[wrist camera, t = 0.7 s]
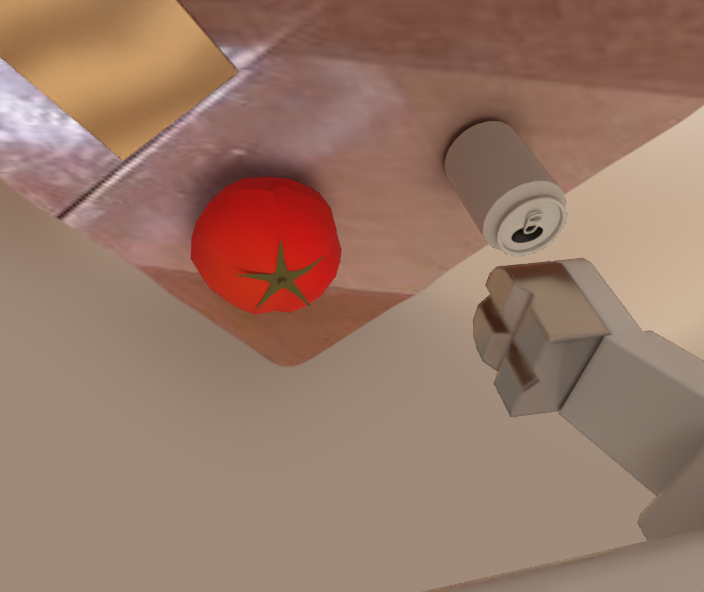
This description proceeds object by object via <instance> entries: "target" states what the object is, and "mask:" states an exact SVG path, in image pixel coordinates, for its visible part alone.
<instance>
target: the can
mask: <svg viewBox="0 0 704 592" xmlns="http://www.w3.org/2000/svg"><path fill="white" fill-rule="evenodd" d="M445 172H446V175H447V177H448V179H449V181H450V183H451V184H452V186H453V188H454V189H455V191H456V192H457V194H458V196H459V197H460V199H461V201H462V202H463V204H464V206H465V207H466V209H467V211H468V212H469V214H470V215H471V217H472V219H473V220H474V222H475V224H476V225H477V227H478V229H479V230H480V232H481V234H482V235H483V237H484V239H485V240H486V242H487V243H488V244H489V245H491V246H492V247H493V248H496V249H499V250H501V251H503V252H504V253H505V254H508V255H511V256H525V255H529V254H533V253H535V252H537V251H539V250H541V249H543V248H545V247H546V246H548V245H549V244H550V243H551V242H553V241H554V240H555V239H556V238H557V236H558V235H559V234H560V233H561V231H562V229H563V227H564V225H565V223H566V219H567V212H566V208H565V205H566V199H565V195H564V192H563V190H562V189H561V188H560V187H559V185H558V184H557V183H556V182H555V180H554V179H553V178H552V177H551V175H550V174H549V173H548V172H547V170H546V169H545V168H544V166H543V165H542V164H541V163H540V161H539V160H538V159H537V158H536V156H535V155H534V154H533V153H532V151H531V150H530V149H529V148H528V146H527V145H526V144H525V143H524V141H523V140H522V139H521V138H520V136H519V135H518V134H517V133H516V132H515V130H514V129H513V128H512V127H511V126H510V125H508V124H505V123H503V122H501V121H487V122H483V123H480V124H476V125H474V126H473V127H471V128H469V129H467V130H465V131H464V132H463V133H462V134H461V135H460V136H459V137H458V138H457V139H455V141H454V142H453V144H452V145H451V147H450V148H449V150H448V152H447V156H446V159H445Z"/></svg>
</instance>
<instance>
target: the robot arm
mask: <svg viewBox="0 0 704 592" xmlns="http://www.w3.org/2000/svg"><path fill="white" fill-rule="evenodd" d="M486 287H487V289H488V291H489V293H490V295H489V296H488V297H486V298H485V300H483V301H482V302H481V303H480V304H479V305H478V306H477V310H476V313H475V316H474V319H473V336H474V340H475V344H476V348H477V350H478V352H479V354H480V356H481V358H482V361H483V362H485V363H486V364H487V365H489V366H491V367H492V368H493V369H495V370H496V371H497V373H496V377H495V381H494V385H495V387H496V389H497V391H498V393H499V395H500V397H501V399H502V401H503V403H504V405H505V407H506V408H507V410H508V413H509V415H510V417H517V416H525V415H532V414H540V413H548V412H555V411H560V412H559V415H561V416H562V417H563V418H564V419H566V420H567V421H568V422H569V423H570V424H571V425H573V426H574V427H575V428H576V429H577V430H579V431H580V432H581V433H582V434H583V435H585V436H586V437H587V438H588V439H589V440H590V441H592V442H593V443H594V444H595V445H596V446H597V447H599V448H600V449H601V450H602V451H603V452H605V453H606V454H607V455H608V456H609V457H611V458H612V459H613V460H614V461H615V462H617V463H618V464H619V465H620V466H621V467H622V468H624V469H625V470H626V471H627V472H628V473H630V474H631V475H632V476H633V477H634V478H636V479H637V480H638V481H639V482H640V483H641V484H643V485H644V486H645V487H646V488H647V489H649V490H650V491H651V492H652V493H653V494H655V495H656V497H655V498H654V499H653V501H652V502H651V503H650V504H649V505H648V506H647V507H646V508H645V509H644V511H643V512H642V513H641V514H640V516H639V519H638V522H637V523H638V525H639V527H640V528H641V530H642V532H643V534H644V536H645V537H646V539H647V541H645V542H640V543H636V544H632V545H627V546H623V547H618V548H614V549H610V550H605V551H601V552H596V553H592V554H587V555H583V556H578V557H574V558H570V559H565V560H561V561H556V562H552V563H547V564H543V565H539V566H535V567H530V568H525V569H521V570H517V571H512V572H508V573H503V574H499V575H494V576H490V577H486V578H482V579H477V580H472V581H468V582H464V583H459V584H455V585H450V586H446V587H441V588H437V589H433V590H428V591H424V592H704V360H702V359H700V358H698V357H697V356H695V355H693V354H691V353H689V352H688V351H686V350H684V349H683V348H681V347H679V346H677V345H676V344H674V343H672V342H671V341H669V340H667V339H665V338H664V337H662V336H660V335H658V334H657V333H655V332H653V331H651V330H650V331H642V330H641V328H640V327H639V326H638V324H637V323H636V322H635V320H634V319H633V318H632V316H631V315H630V314H629V312H628V311H627V310H626V308H625V307H624V306H623V304H622V303H621V302H620V300H619V299H618V298H617V296H616V295H615V294H614V292H613V291H612V290H611V288H610V287H609V286H608V284H607V283H606V282H605V280H604V279H603V277H602V276H601V275H600V273H599V272H598V271H597V269H596V268H595V267H594V265H593V264H592V263H591V262H589V261H587V260H586V259H584V258H577V259H568V260H558V261H553V262H551V261H548V262H538V263H528V264H518V265H508V266H498V267H496V268H495V269H494V270H493V271H492V272H491V273H490V274H489V277H488V279H487V282H486Z"/></svg>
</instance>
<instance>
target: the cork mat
mask: <svg viewBox="0 0 704 592" xmlns="http://www.w3.org/2000/svg"><path fill="white" fill-rule="evenodd" d="M0 57H1V58H2V59H3V60H4V61H6V62H7V63H8V64H9V65H10V66H12V67H13V68H14V69H15V70H16V71H18V72H19V73H20V74H21V75H22V76H23V77H25V78H26V79H27V80H28V81H29V82H31V83H32V84H33V85H34V86H35V87H36V88H38V89H39V90H40V91H41V92H42V93H44V94H45V95H46V96H47V97H48V98H50V99H51V100H52V101H53V102H54V103H55V104H57V105H58V106H59V107H60V108H61V109H63V110H64V111H65V112H66V113H67V114H68V115H70V116H71V117H72V118H73V119H74V120H76V121H77V122H78V123H79V124H80V125H81V126H83V127H84V128H85V129H86V130H87V131H89V132H90V133H91V134H92V135H93V136H95V137H96V138H97V139H98V140H99V141H100V142H102V143H103V144H104V145H105V146H106V147H108V148H109V149H110V150H111V151H112V152H113V153H115V154H116V155H117V156H118V157H119V158H121V159H122V160H125V159H126V158H127V157H129V156H130V155H131V154H133V153H134V152H135V151H137V150H138V149H139V148H140V147H142V146H143V145H144V144H146V143H147V142H148V141H150V140H151V139H152V138H153V137H155V136H156V135H157V134H159V133H160V132H161V131H163V130H164V129H165V128H167V127H168V126H169V125H170V124H172V123H173V122H174V121H176V120H177V119H178V118H180V117H181V116H182V115H183V114H185V113H186V112H187V111H189V110H190V109H191V108H193V107H194V106H195V105H196V104H198V103H199V102H200V101H202V100H203V99H204V98H206V97H207V96H208V95H209V94H211V93H212V92H213V91H215V90H216V89H217V88H219V87H220V86H221V85H223V84H224V83H225V82H226V81H228V80H229V79H230V78H232V77H233V76H234V75H236V74H237V73H238V70H237V69H236V67H235V66H234V65H233V64H232V63H231V62H230V60H229V59H228V58H227V57H226V56H225V55H224V53H223V52H222V51H221V50H220V49H219V48H218V46H217V45H216V44H215V43H214V42H213V41H212V40H211V38H210V37H209V36H208V35H207V34H206V33H205V31H204V30H203V29H202V28H201V27H200V26H199V24H198V23H197V22H196V21H195V20H194V19H193V17H192V16H191V15H190V14H189V13H188V12H187V10H186V9H185V8H184V7H183V6H182V5H181V3H180V2H179V1H178V0H0Z"/></svg>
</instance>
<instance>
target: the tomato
mask: <svg viewBox="0 0 704 592" xmlns="http://www.w3.org/2000/svg"><path fill="white" fill-rule="evenodd" d="M336 231H337V230H336V226H335V223H334V219H333V215H332V212H331V208H330V206H329V205H328V204H327V202H326V201H325V200H324V199H323V197H322V196H321V195H320V193H319V192H317V191H315V190H314V189H312V188H310V187H308V186H306V185H304V184H301V183H299V182H297V181H294V180H290V179H285V178H277V177H253V178H244V179H242V180H239V181H237V182H235V183H232V184H230V185H228V186H225V187H224V188H223V189H222V190H221V191H220V192H219V193H218V194H217V195H216V196H215V197H214V198H213V199H212V200H211V201H210V202H209V203H208V205H207V206H206V208H205V210H204V211H203V213H202V214H201V216H200V217H199V219H198V221H197V222H196V225H195V228H194V232H193V235H192V242H191V260H192V262H193V263H194V265H195V266H196V268H197V270H198V271H199V273H200V274H201V276H202V277H203V279H204V280H205V282H206V283H207V284H208V286H209V287H210V289H211V290H213V291H214V292H215V293H217V294H218V295H220V296H221V297H223V298H224V299H225V300H227V301H228V302H230V303H231V304H233V305H234V306H235V307H237V308H239V309H242V310H244V311H247V312H249V313H252V314H258V313H265V312H271V311H281V312H288V313H290V312H293V311H296V310H298V309H301V308H304V307H305V306H307V305H308V306H311V305H310V303H311V302H313V301H314V300H316V299H317V298H319V297H320V296H321V295H322V293H323V292H324V291H325V290H326V288H327V287H328V286H329V285H330V283H331V282H332V281H333V279H334V278H335V277H336V274H337V270H338V267H339V263H340V258H341V247H340V243H339V240H338V236H337V233H336Z"/></svg>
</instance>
